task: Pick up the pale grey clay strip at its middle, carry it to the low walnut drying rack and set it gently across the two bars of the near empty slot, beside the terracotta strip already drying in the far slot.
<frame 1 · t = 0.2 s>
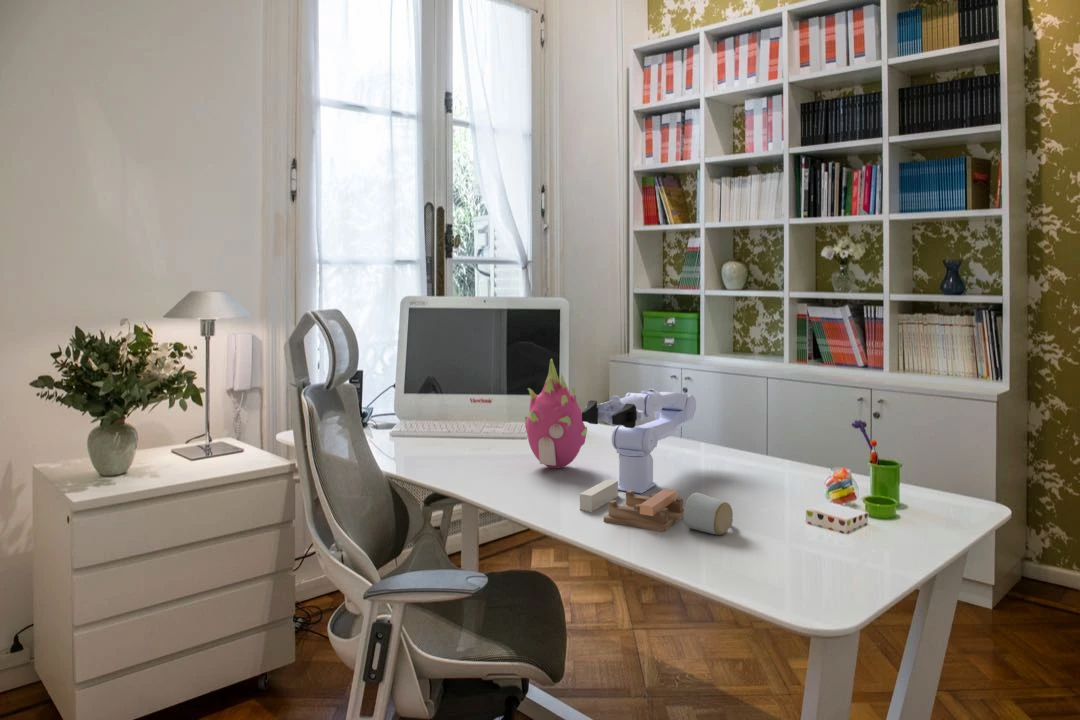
hand: (598, 418, 184), 21 cm above the table, tool horizontal, fingers open, 7 cm apart
drying rack: (646, 517, 180), on the table
decorative house: (555, 468, 223), on the table
grey cylinder: (710, 530, 171), on the table
clay strip: (599, 503, 191), on the table
fired strip: (658, 506, 178), point 3 cm above the table, touching drying rack
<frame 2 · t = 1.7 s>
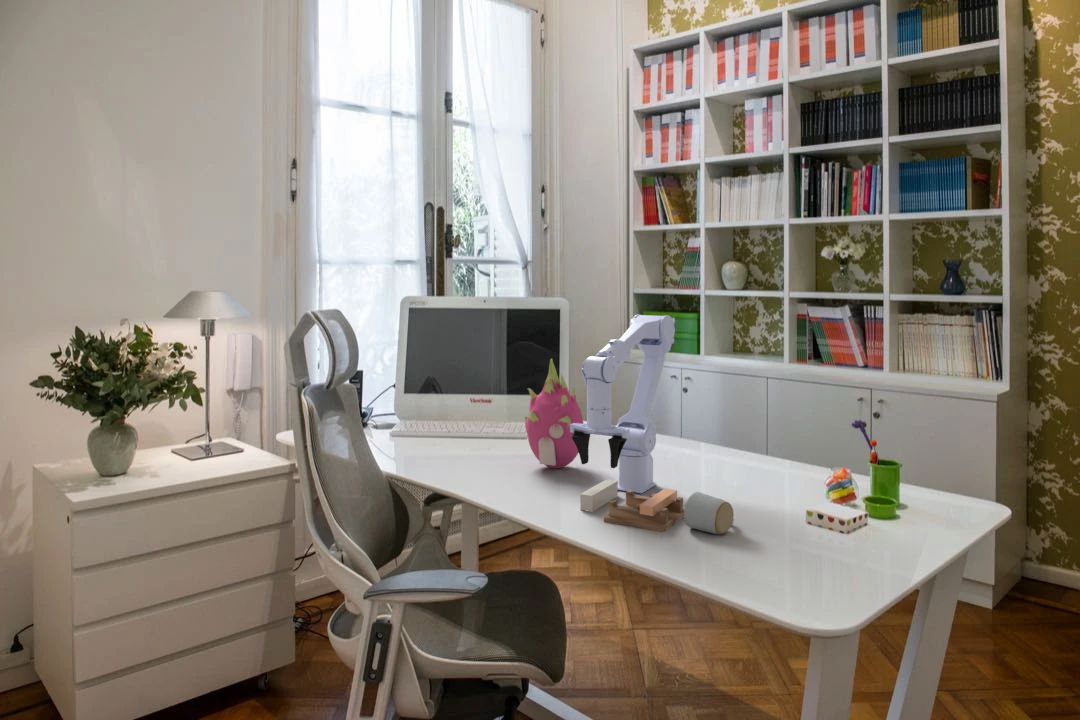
hand: (599, 465, 190), 9 cm above the table, tool pointing down, fingers open, 7 cm apart
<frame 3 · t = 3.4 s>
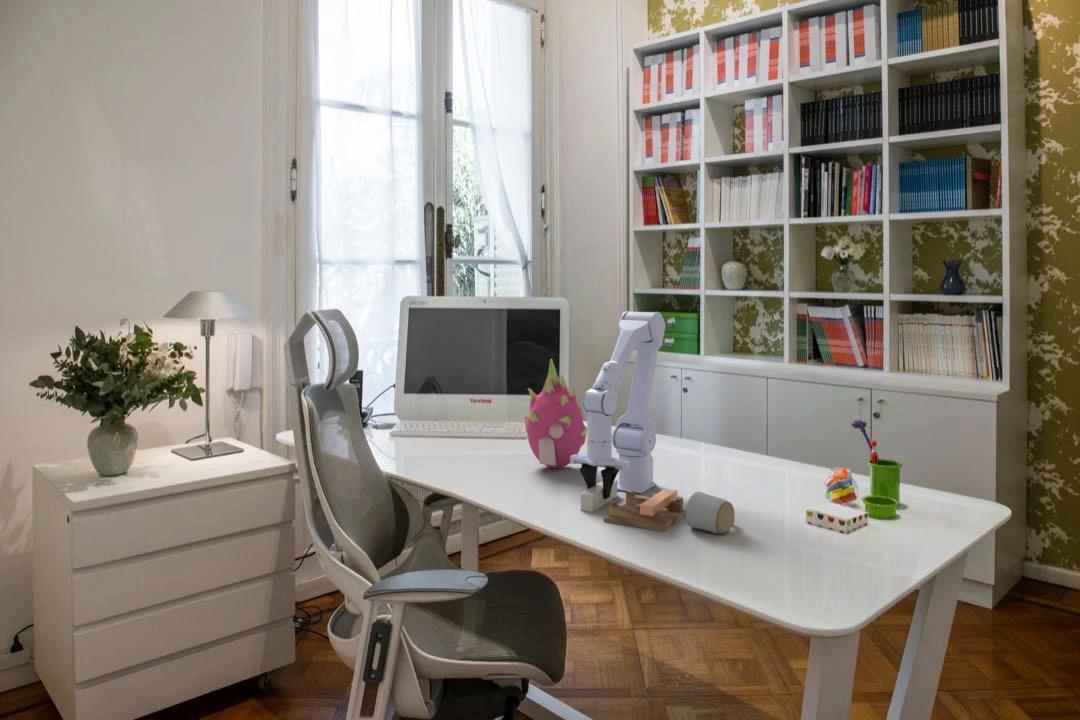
hand: (599, 496, 191), 1 cm above the table, tool pointing down, fingers closed on clay strip, 3 cm apart
clay strip: (599, 503, 191), on the table, touching gripper
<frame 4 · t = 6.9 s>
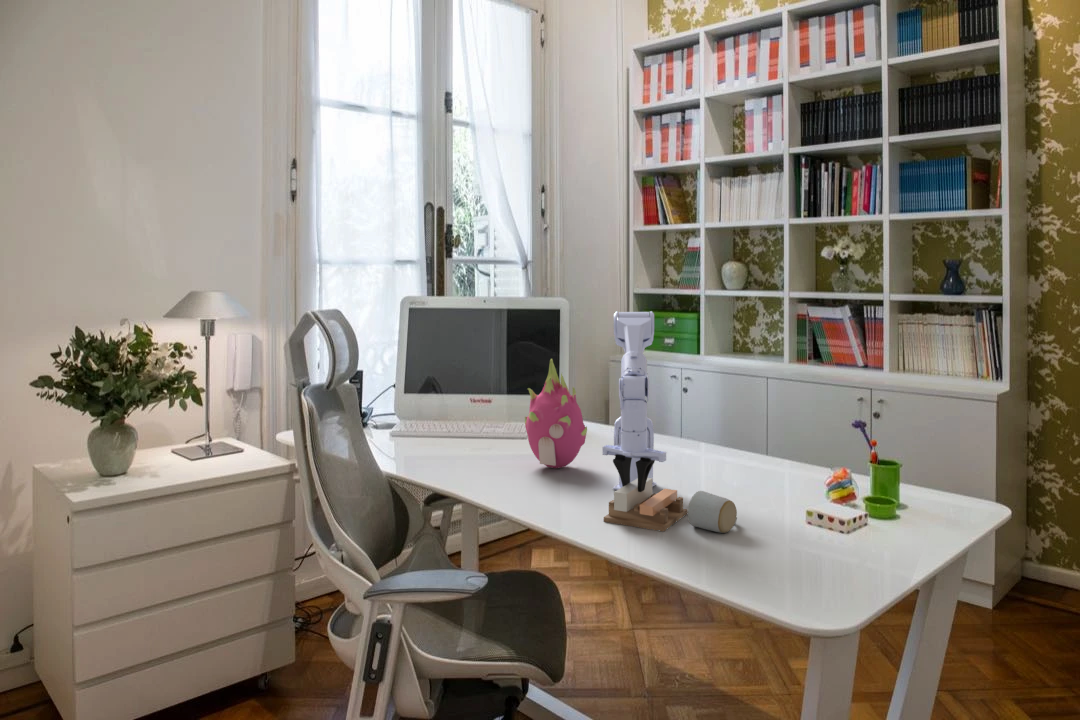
hand: (633, 489, 180), 6 cm above the table, tool pointing down, fingers closed on clay strip, 3 cm apart
clay strip: (633, 502, 181), point 3 cm above the table, touching drying rack, gripper
when the fingers open (5 cm above the table, at t = 7.8 s): clay strip stays where it is, resting on drying rack.
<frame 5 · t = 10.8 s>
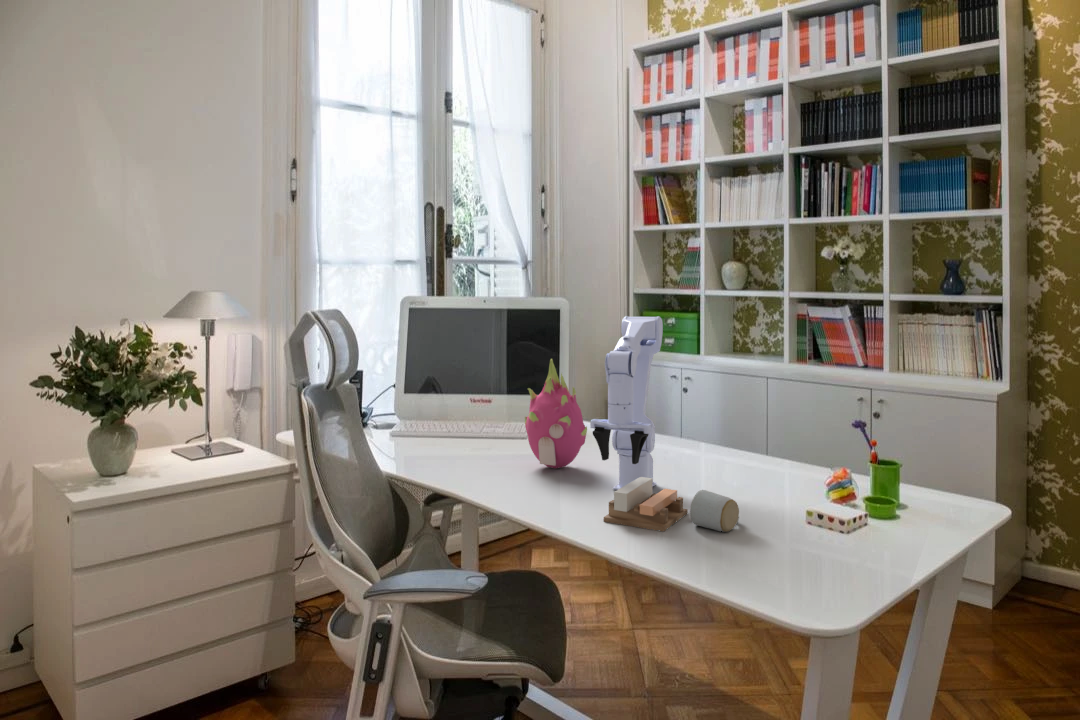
hand: (620, 461, 188), 10 cm above the table, tool pointing down, fingers open, 7 cm apart
clay strip: (633, 502, 181), point 3 cm above the table, touching drying rack
at the end: clay strip 0.0 cm from the target spot on the drying rack, point 3.0 cm above the drying rack's base; clay strip tilted 0°; the gripper is holding nothing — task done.
